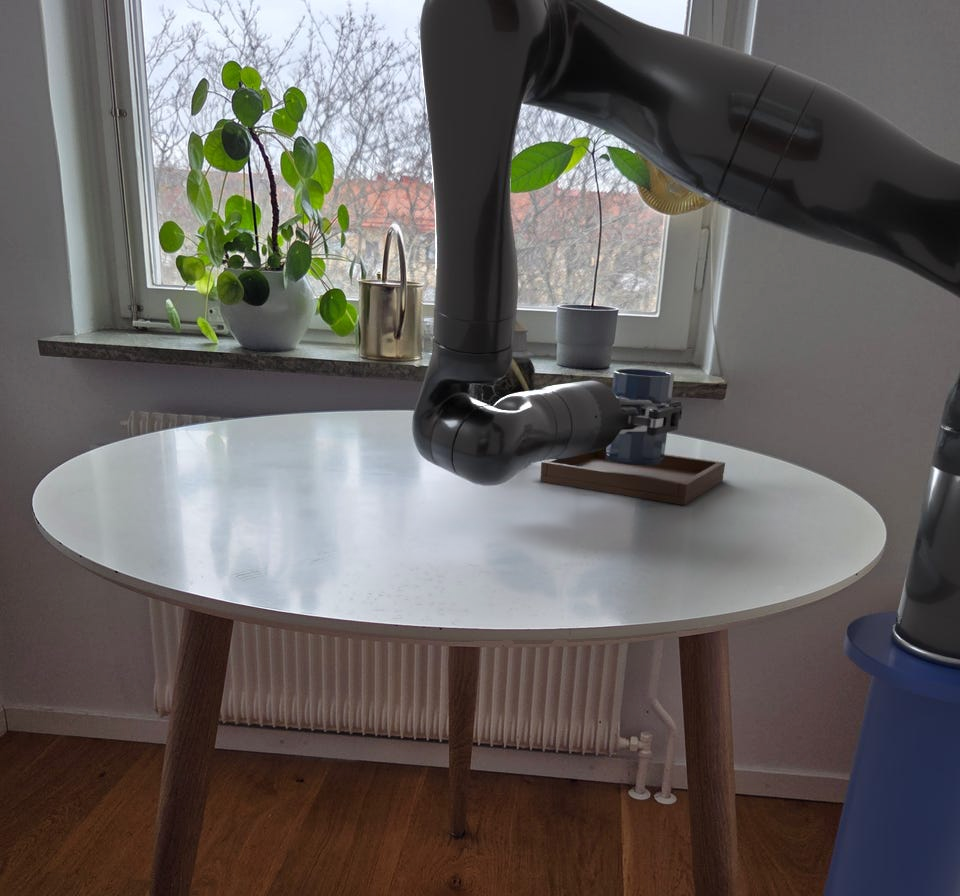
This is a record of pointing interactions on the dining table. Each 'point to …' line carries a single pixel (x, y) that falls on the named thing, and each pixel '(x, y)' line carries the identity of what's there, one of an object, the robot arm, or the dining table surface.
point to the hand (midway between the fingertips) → (649, 406)
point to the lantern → (511, 373)
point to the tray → (636, 476)
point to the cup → (639, 386)
